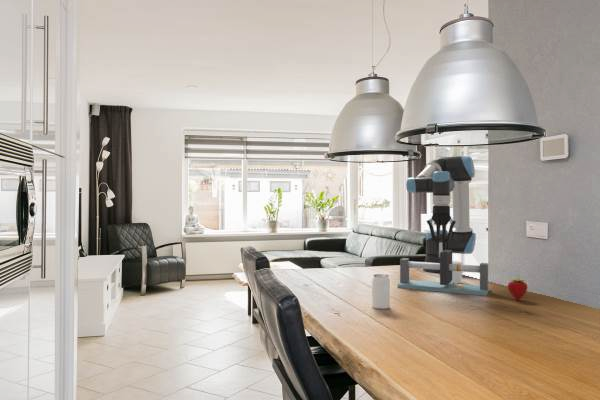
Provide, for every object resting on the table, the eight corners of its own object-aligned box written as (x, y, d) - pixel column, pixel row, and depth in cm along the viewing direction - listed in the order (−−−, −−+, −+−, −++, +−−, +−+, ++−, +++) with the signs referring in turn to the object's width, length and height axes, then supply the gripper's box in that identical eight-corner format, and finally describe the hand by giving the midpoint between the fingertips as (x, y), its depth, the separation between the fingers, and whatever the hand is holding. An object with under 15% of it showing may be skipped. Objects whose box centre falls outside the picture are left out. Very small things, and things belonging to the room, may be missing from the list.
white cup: (465, 284, 218) (465, 263, 218) (448, 283, 218) (448, 263, 218) (459, 281, 225) (459, 261, 225) (443, 281, 226) (443, 261, 226)
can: (392, 309, 167) (392, 276, 167) (376, 309, 166) (376, 277, 166) (385, 305, 174) (385, 273, 174) (369, 305, 172) (369, 274, 172)
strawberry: (504, 298, 185) (504, 274, 185) (522, 298, 186) (522, 273, 186) (512, 301, 179) (512, 276, 179) (530, 301, 180) (530, 276, 180)
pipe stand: (397, 287, 208) (397, 260, 208) (405, 282, 221) (405, 257, 221) (486, 295, 191) (486, 266, 191) (489, 289, 203) (489, 262, 203)
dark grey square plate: (439, 284, 199) (439, 252, 199) (445, 279, 212) (445, 249, 212) (447, 285, 198) (447, 253, 198) (452, 280, 210) (452, 250, 210)
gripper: (425, 205, 206) (424, 257, 206) (454, 205, 200) (454, 258, 200) (428, 205, 212) (428, 255, 212) (457, 205, 206) (457, 256, 206)
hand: (441, 256), depth 206 cm, fingers closed
